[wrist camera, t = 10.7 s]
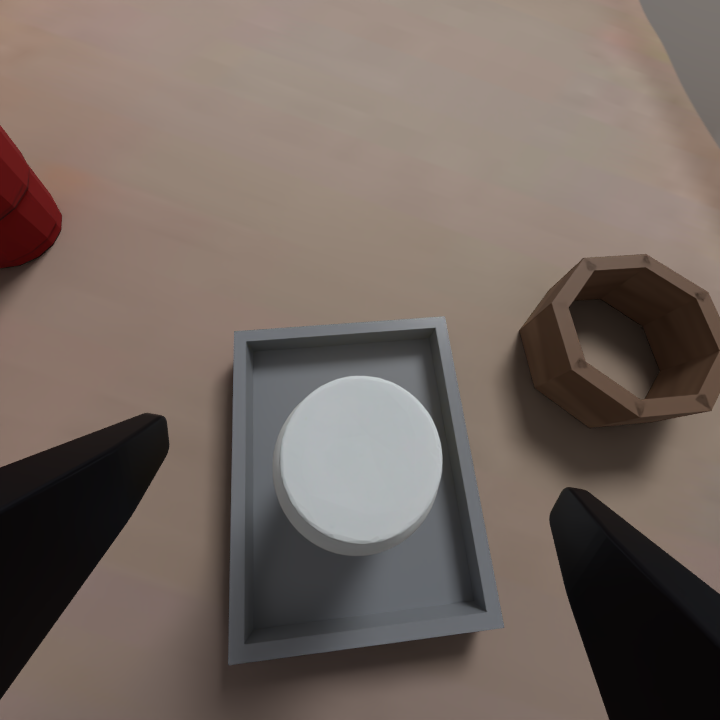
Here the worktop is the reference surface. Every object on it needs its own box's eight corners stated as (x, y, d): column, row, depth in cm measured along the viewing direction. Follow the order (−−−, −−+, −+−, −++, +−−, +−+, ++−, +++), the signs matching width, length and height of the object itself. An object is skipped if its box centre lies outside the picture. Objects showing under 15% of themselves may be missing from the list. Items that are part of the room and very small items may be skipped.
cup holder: (691, 418, 20) (761, 406, 17) (545, 432, 19) (587, 422, 16) (638, 284, 23) (689, 251, 19) (509, 293, 22) (538, 260, 19)
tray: (483, 608, 17) (504, 627, 14) (244, 639, 16) (227, 665, 14) (434, 333, 21) (444, 316, 19) (246, 347, 20) (234, 331, 18)
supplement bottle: (373, 551, 16) (409, 638, 7) (276, 491, 17) (199, 503, 8) (423, 447, 18) (504, 414, 9) (333, 396, 19) (323, 316, 10)
